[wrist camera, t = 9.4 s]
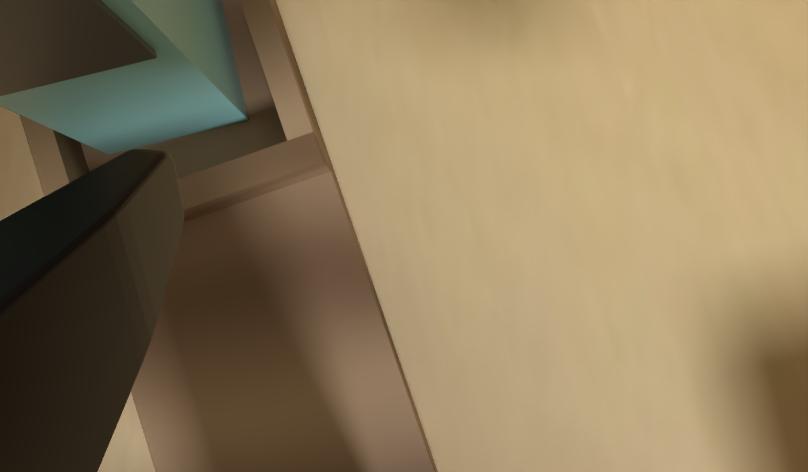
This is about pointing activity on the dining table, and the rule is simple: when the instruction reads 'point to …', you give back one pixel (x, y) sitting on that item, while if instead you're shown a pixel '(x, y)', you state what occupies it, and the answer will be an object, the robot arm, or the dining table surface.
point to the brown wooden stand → (262, 291)
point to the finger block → (120, 69)
